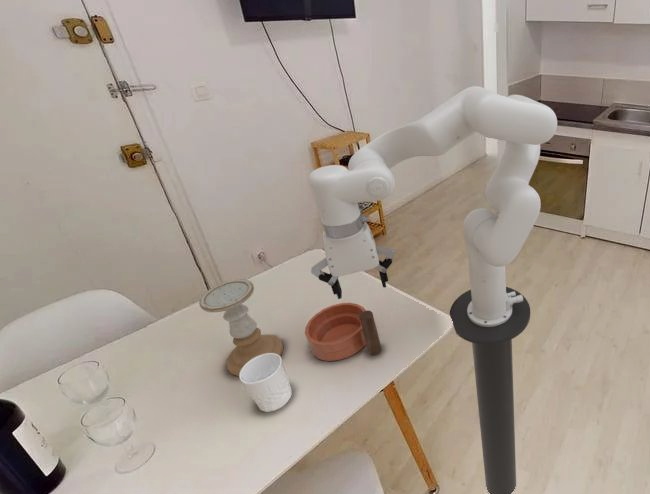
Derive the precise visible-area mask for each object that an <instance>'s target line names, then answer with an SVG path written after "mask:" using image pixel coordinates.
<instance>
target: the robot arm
mask: <svg viewBox="0 0 650 494" xmlns="http://www.w3.org/2000/svg"><path fill="white" fill-rule="evenodd" d="M557 128H558V118H557V115H556V113H555V111H554V110H553V109H552V108H551V107H549V106H548V105H546V104H544V103H541V102H539V101H537V100H534V99H532V98H530V97H527V96H525V95H521V94H511V95H508V96H504V95H502V94H498V93H496V92H494V91H492V90H489V89H487V88H485V87H482V86H480V85H479V86H478V85H473V86H469V87H466V88H464V89H463V90H461V91H460V92H458V93H457V94H455V95H454V96H452V97H450V98H449V99H447V100H446V101H445V102H443V103H442V104H440V105H439V106H437V107H435V108H434V109H433V110H431V111H430V112H428V113H427V114H425V115H423V116H422V117H420V118H418V119H417V120H415V121H413V122H408V123H406V124H404V125H401V126H399V127H396V128H392V129H391V130H388V131H386V132H384V133H382V134H380V135H379V136H377V137H376V138H374V139H372V140H371V141H369V142H368V143H366V144H365V145H363V146H362V147H361V148H359V149H358V150H356V151H355V152H354V153H353V154H352V156H351V157H350V159H349V160H348V161H349V162H348V163H347V164H348V165H347V167H348V168H347V167H346V166H344V165H340V164H328V165H325V166H320V167H318V168H316V169H314V170H312V172H310V174H309V176H308V183H309V187H310V190H311V193H312V197H313V199H314V202H315V206H316V209H317V212H318V215H319V219H320V220H321V225H322V227H323V231H322V243H323V250H324V254H325V257H324V258H323V259H321V260H320V261H319V262H317V263H316V264H314V265H313V266H311V269H310V273H311V274H312V275H314V276H315V277H316V278H318V280H319V281H321V282H324V283H326V284H327V285H328V286H331V287H330V288H331V290H332V294H333V295H336V297H337V299H338V300H340V299H342V298H343V294H342V293H343V291H342V287H341V284H340V281H339V277H344V276H348V275H352V274H353V275H354V274H357V273H360V272H365V271H368V270H369V271H370V270H372V269H375V270H377V271H378V272H379V277H380V282H381V285H382V288H387V282H389V276H388V269H389V268H390V266H391V265H392V264H393V260H394V258H395V255H396V251H395V249H394V248H391V247H386V246H379V245H377V244H376V241H375V238H374V235H373V233H372V230H371V228H370V226H369V224H368V223H367V222H370V221H371V219H370V214H363V213H361V210H360V206H359V203H371V202H372V203H373V202H378V201H383V200H385V199H387V198H388V197H390V196H391V195H392V194H393V192H394V191H395V187H396V178H395V176H394V174H393V172H392V171H391V169H392V168H394V167H395V166H396V165H398V164H400V163H402V162H404V161H406V160H409V159H411V158H415V157H438V156H439V157H440V156H443V155H445V154H446V153H447V152H449V151H450V150H452V149H453V148H455V146H457V145H459V144H460V143H461V142H463V141H465V140H466V139H468V138H469V137H470V136H472V135H474V134H475V133H476V132H477V133H478V134H480V135H482V136H484V137H487V138H489V139H494V140H499V141H504V142H505V146H504V150H503V153H502V155H501V157H500V159H499V161H498V164H497V165H496V167H495V169H494V171H493V173H492V175H491V178H490V179H489V182H488V183H487V185H486V188H485V199H486V200H487V202H488V204H489V205H490V206H491V207H492V208H493V209H494V210H495V211H496V212H497V213H498V214H499V215H498V214H497V213H495V212H494V211H493V210H491V209H489V208H484V207H479V208H475V209H473V210H472V211H470V212H469V213H468V214H467V215H466V216H465V218H464V221H463V223H462V235H463V236H462V237H463V240H464V244H465V248H466V249H465V250H466V253H467V261H468V273H469V283H470V284H469V285H470V290H471V296H472V301H471V302H470V304H469V305H468V308H467V313H468V317H469V319H470V320H471V321H472V322H473V323H475V324H477V325H479V326H483V327H493V326H498V325H500V324H502V323H504V322H506V321H507V320H508V319H509V318H510V316H511V314H512V305H513V303H519V302H522V301H523V296H524V295H523V294H522V295H523V296H522V295H518V296H516V293H515V291H514V292H510V293H506V287H507V280H506V277H507V276H506V266H507V265H509V264H510V263H511V262H513V261H514V260H515V258H517V256H518V255H519V253H520V251H521V250H522V248H523V246H524V244H525V242H526V241H527V239H528V237H529V235H530V234H531V231H532V229H533V228H534V226H535V224H536V222H537V220H538V218H539V216H540V213H541V209H542V208H541V207H542V205H541V204H542V203H541V202H542V201H541V197H540V195H539V193H538V192H537V190H536V189H534V187H533V186H531V185H530V181H531V179H532V177H533V174H534V172H535V170H536V167H537V165H538V164H539V160H540V155H541V145H543V144H545V143H547V142H548V141H550V140H551V139H552V138H553V137H554V136H555V134H556V132H557ZM379 255H383V256H386V257H385V258H384V259H383V260H382V259H381V258H379ZM326 267H328V270H329V273H328V272H325V271H322V270H324V269H325V268H326ZM514 296H515V297H514ZM511 297H512V298H511Z"/></svg>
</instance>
